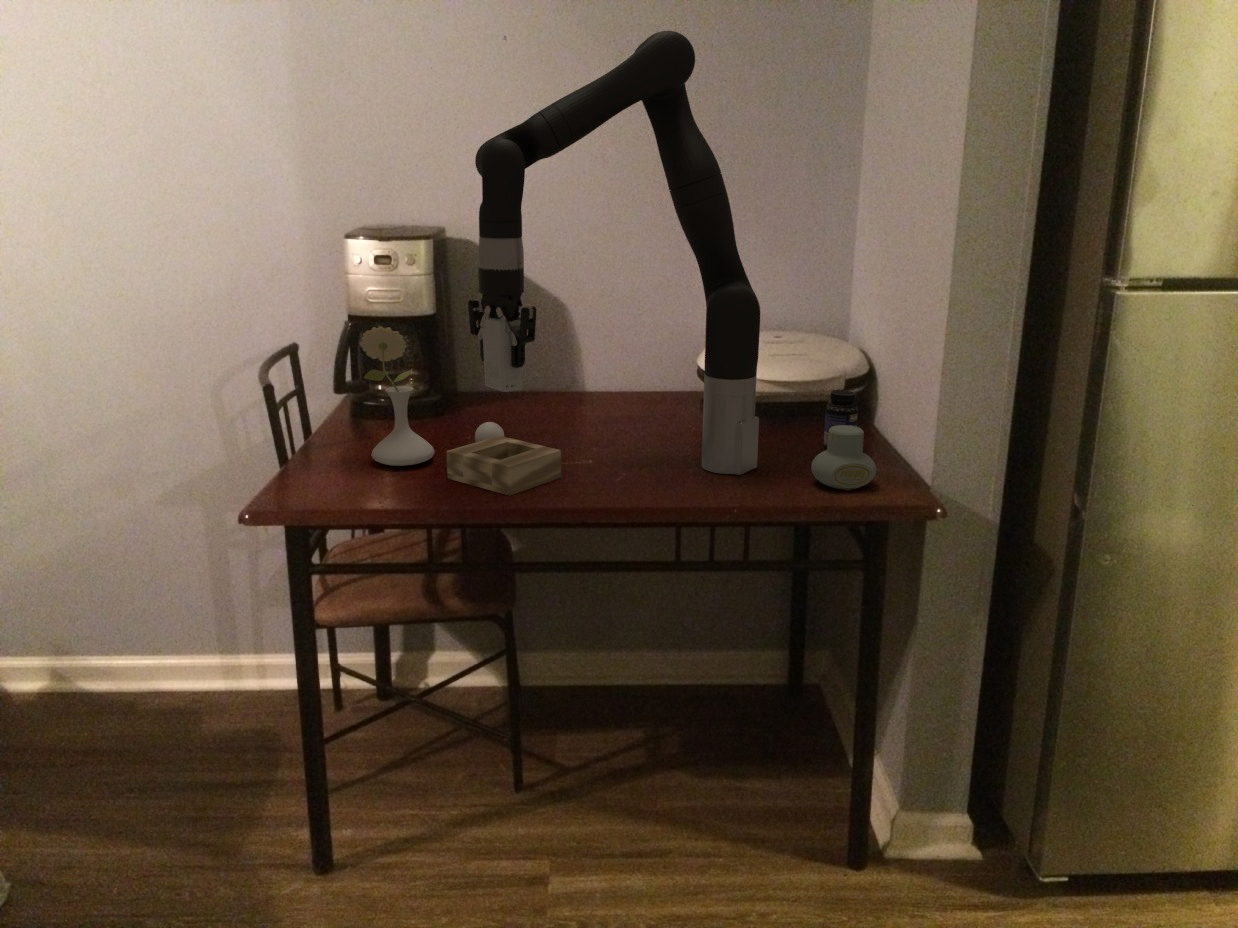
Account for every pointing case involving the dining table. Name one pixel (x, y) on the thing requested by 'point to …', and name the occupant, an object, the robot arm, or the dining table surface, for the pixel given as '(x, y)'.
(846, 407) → the pill bottle
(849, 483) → the air freshener
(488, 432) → the white egg
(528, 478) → the caddy
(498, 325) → the skincare box
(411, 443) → the flower in vase
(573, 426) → the dining table surface
